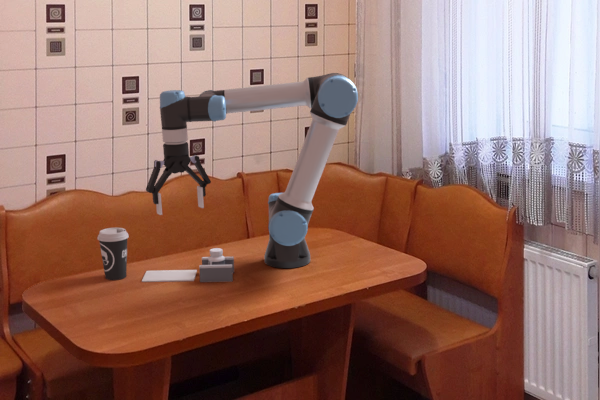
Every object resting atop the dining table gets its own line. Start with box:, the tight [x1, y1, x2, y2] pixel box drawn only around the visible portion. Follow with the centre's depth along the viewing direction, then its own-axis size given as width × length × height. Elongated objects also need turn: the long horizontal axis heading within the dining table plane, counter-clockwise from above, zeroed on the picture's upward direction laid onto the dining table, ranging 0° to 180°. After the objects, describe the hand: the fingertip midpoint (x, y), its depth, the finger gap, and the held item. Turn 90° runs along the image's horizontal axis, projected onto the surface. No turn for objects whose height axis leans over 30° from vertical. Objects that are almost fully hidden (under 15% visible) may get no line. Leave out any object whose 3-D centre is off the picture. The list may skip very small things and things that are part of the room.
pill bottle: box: [208, 247, 226, 265], centre depth 263 cm, size 5×5×9 cm
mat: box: [141, 269, 198, 283], centre depth 266 cm, size 16×10×1 cm, turn 91°
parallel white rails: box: [198, 255, 235, 283], centre depth 264 cm, size 10×10×5 cm
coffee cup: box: [97, 227, 130, 281], centre depth 264 cm, size 10×10×15 cm
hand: (180, 210), depth 260 cm, fingers open, 13 cm apart
